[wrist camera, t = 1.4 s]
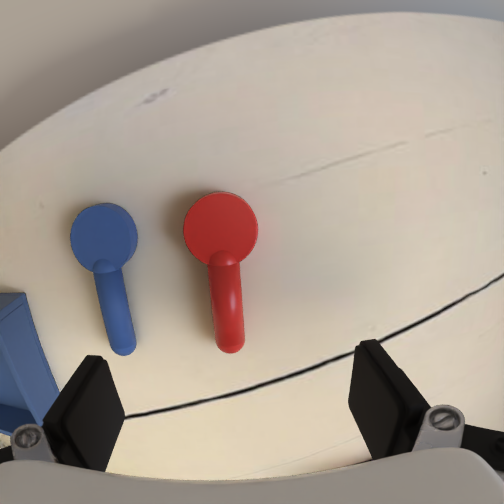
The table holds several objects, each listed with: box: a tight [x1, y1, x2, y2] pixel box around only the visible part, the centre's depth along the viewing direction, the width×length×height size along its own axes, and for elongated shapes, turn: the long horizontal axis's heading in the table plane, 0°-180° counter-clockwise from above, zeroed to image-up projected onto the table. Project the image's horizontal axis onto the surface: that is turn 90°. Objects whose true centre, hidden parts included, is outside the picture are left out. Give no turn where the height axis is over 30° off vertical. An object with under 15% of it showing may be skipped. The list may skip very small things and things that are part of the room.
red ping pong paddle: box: [183, 192, 258, 353], centre depth 18 cm, size 10×4×2 cm, turn 3°
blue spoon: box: [70, 203, 138, 356], centre depth 18 cm, size 10×4×2 cm, turn 3°
